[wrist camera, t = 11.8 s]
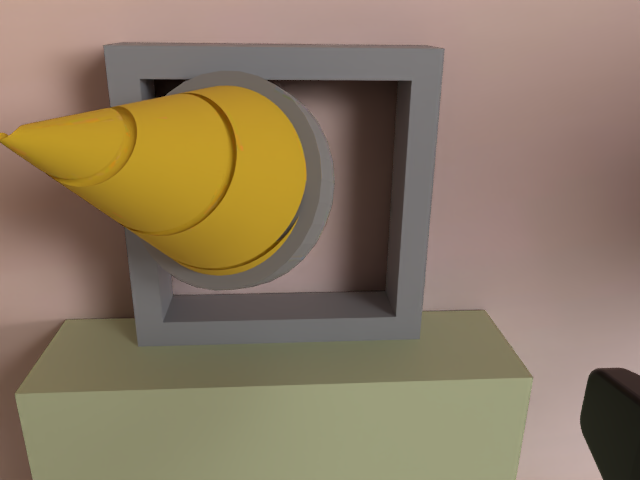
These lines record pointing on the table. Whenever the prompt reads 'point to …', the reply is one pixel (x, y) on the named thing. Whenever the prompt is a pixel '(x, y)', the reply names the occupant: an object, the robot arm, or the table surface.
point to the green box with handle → (284, 335)
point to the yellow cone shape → (199, 175)
